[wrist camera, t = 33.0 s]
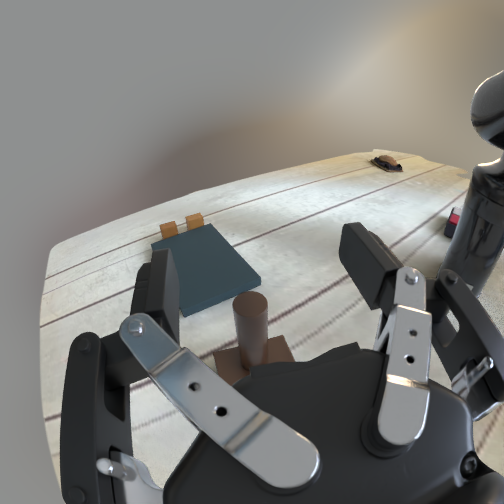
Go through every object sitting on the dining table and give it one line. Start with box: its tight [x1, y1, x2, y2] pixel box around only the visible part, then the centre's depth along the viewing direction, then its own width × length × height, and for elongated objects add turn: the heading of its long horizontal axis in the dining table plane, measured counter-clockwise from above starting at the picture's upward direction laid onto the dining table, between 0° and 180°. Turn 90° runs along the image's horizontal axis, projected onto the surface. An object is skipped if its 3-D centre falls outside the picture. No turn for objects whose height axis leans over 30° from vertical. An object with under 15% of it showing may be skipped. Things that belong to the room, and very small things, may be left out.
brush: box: [213, 291, 295, 386], centre depth 25 cm, size 8×4×12 cm, turn 106°
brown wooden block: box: [185, 213, 204, 231], centre depth 52 cm, size 3×3×2 cm
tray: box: [151, 223, 261, 317], centre depth 43 cm, size 12×18×2 cm, turn 30°
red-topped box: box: [444, 207, 462, 238], centre depth 46 cm, size 11×4×15 cm
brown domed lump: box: [371, 155, 403, 172], centre depth 81 cm, size 11×8×4 cm
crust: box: [160, 221, 178, 240], centre depth 50 cm, size 3×3×2 cm
